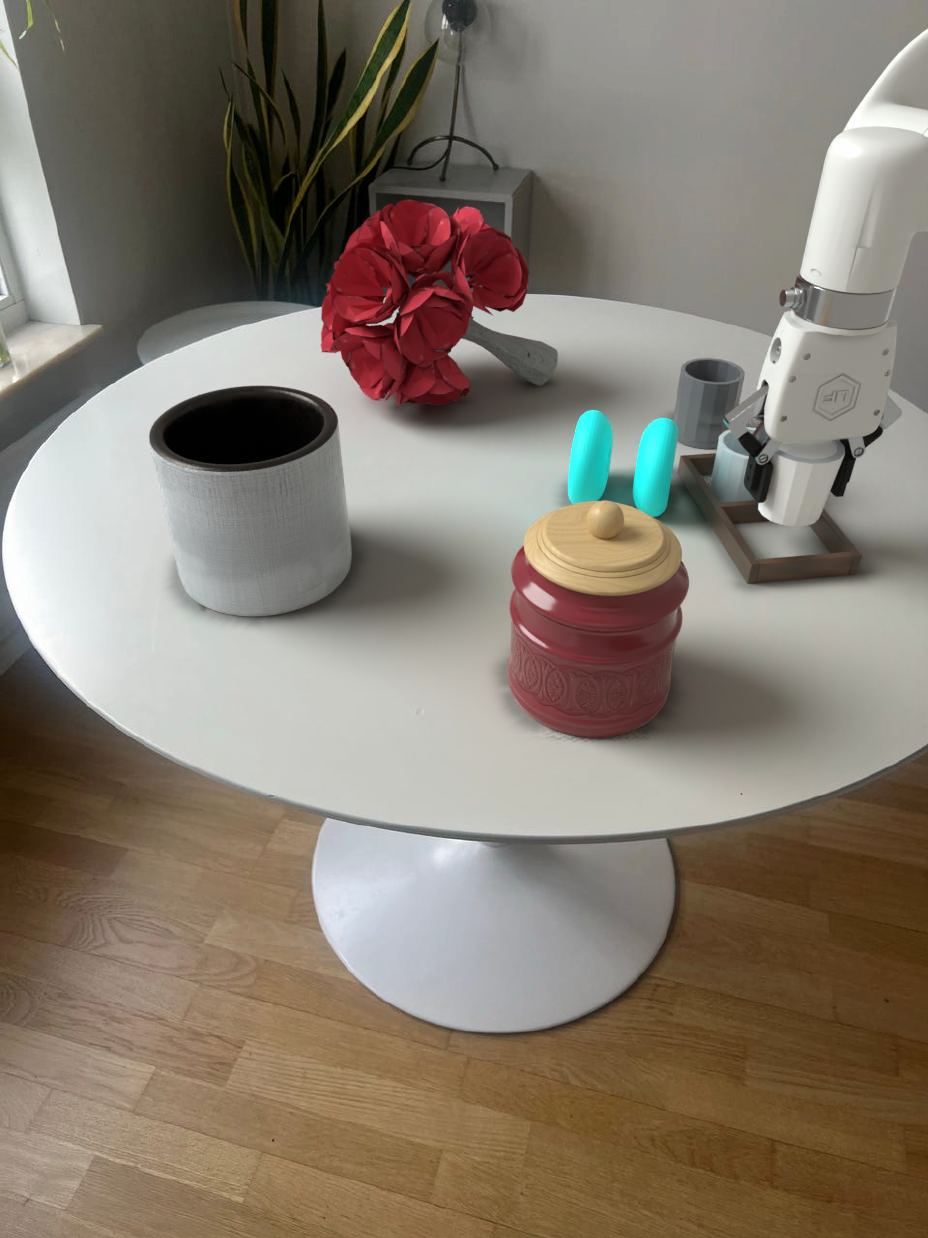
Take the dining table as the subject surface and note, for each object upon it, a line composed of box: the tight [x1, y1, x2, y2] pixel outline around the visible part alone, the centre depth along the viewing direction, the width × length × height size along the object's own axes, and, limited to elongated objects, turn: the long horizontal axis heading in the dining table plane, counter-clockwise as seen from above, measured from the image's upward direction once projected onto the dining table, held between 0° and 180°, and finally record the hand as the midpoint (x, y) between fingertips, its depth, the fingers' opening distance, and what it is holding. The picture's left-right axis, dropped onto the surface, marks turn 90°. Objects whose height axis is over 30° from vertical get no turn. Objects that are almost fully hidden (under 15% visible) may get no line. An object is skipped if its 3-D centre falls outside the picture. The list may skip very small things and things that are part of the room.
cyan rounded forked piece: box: [567, 409, 678, 518], centre depth 95 cm, size 10×10×10 cm
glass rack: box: [677, 452, 863, 585], centre depth 93 cm, size 11×20×3 cm, turn 8°
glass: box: [708, 426, 766, 503], centre depth 96 cm, size 7×7×7 cm
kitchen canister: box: [506, 500, 690, 739], centre depth 70 cm, size 13×13×18 cm
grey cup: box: [672, 357, 746, 450], centre depth 107 cm, size 7×7×8 cm
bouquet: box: [320, 199, 559, 409], centre depth 113 cm, size 22×24×30 cm
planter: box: [148, 385, 353, 617], centre depth 84 cm, size 16×16×16 cm
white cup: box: [758, 437, 845, 528], centre depth 85 cm, size 7×7×7 cm
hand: (793, 490), depth 86 cm, fingers closed on white cup, 6 cm apart
